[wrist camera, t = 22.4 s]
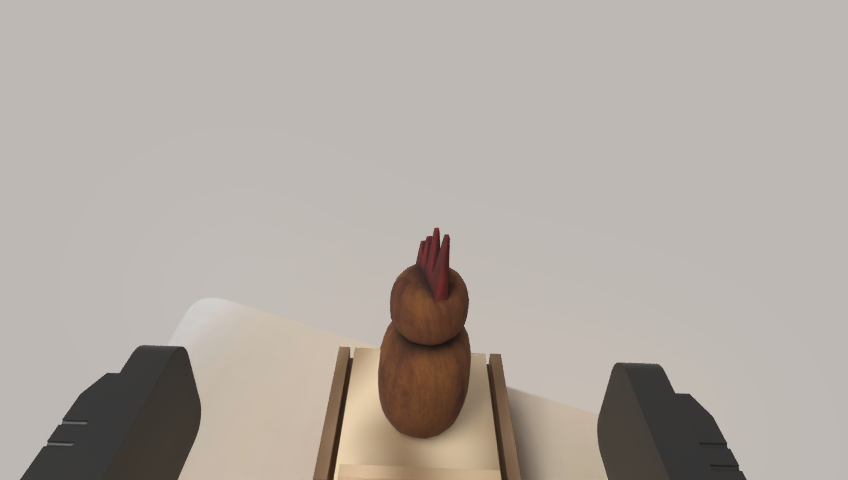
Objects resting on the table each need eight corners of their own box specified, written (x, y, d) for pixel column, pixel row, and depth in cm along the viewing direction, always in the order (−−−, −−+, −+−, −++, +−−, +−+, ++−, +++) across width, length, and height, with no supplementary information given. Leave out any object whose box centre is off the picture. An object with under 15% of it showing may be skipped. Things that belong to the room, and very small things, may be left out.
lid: (484, 361, 44) (488, 329, 42) (503, 518, 32) (510, 483, 31) (355, 355, 43) (354, 323, 42) (330, 511, 32) (328, 476, 30)
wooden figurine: (463, 460, 35) (491, 256, 27) (370, 451, 35) (373, 246, 27) (464, 381, 40) (488, 194, 33) (385, 373, 41) (390, 186, 33)
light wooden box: (489, 422, 47) (500, 354, 43) (508, 582, 36) (526, 510, 32) (341, 415, 47) (339, 346, 43) (314, 575, 36) (308, 502, 32)
